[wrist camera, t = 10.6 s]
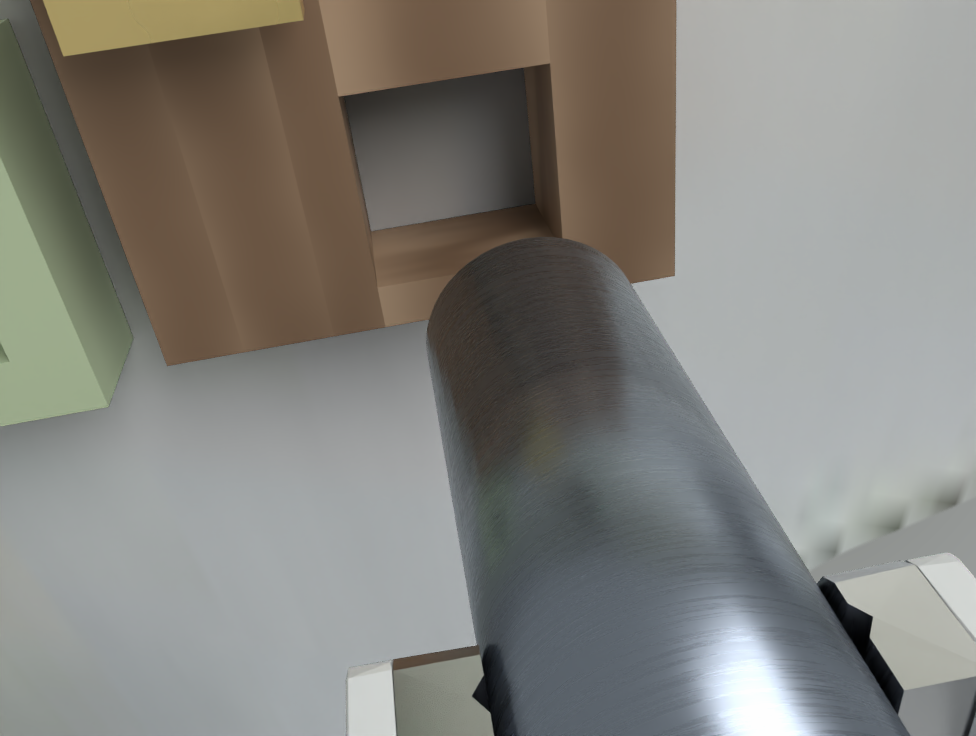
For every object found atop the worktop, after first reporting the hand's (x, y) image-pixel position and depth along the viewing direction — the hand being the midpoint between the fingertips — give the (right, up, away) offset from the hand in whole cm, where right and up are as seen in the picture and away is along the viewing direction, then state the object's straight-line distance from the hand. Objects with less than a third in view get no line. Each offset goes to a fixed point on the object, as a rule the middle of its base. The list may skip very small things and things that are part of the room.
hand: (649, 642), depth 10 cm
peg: (-1, +4, +6) cm, 7 cm away
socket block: (-5, +13, +15) cm, 20 cm away
